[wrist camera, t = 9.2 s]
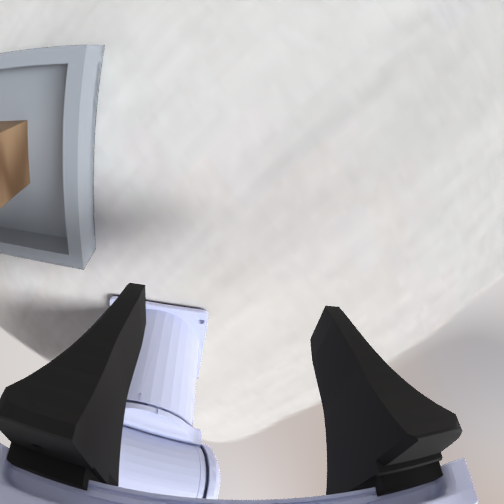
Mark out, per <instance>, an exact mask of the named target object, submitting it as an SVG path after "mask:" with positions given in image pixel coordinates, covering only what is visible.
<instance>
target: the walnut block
mask: <svg viewBox="0 0 504 504" xmlns="http://www.w3.org/2000/svg"><path fill="white" fill-rule="evenodd" d="M29 184H30V173H29V157H28V120H16V121H0V209H1V208H2V207H3V206H4V205H5V204H6V203H7V202H8V201H10V200H11V199H12V198H13V197H14V196H15V195H17V194H18V193H19V192H20V191H21V190H23V189H24V188H25V187H26V186H27V185H29Z"/></svg>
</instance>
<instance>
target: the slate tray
mask: <svg viewBox="0 0 504 504" xmlns="http://www.w3.org/2000/svg"><path fill="white" fill-rule="evenodd" d="M104 46H105V45H71V46H55V47H44V48H34V49H26V50H18V51H11V52H5V53H0V121H16V120H28V157H29V173H30V184H29V185H27V186H26V187H25V188H24V189H23V190H21V191H20V192H19V193H18V194H17V195H15V196H14V197H13V198H12V199H11V200H10V201H8V202H7V203H6V204H5V205H4V206H3V207H2V208H1V209H0V253H3V254H7V255H12V256H17V257H21V258H26V259H31V260H36V261H41V262H46V263H51V264H56V265H61V266H67V267H72V268H77V269H83V270H84V268H85V266H86V265H87V263H88V261H89V259H90V258H91V256H92V254H93V253H94V251H95V249H96V248H95V230H94V195H93V177H94V142H95V125H96V111H97V100H98V90H99V82H100V73H101V66H102V59H103V52H104Z"/></svg>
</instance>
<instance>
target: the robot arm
mask: <svg viewBox="0 0 504 504" xmlns="http://www.w3.org/2000/svg"><path fill="white" fill-rule="evenodd" d="M109 304H110V307H109V308H108V309H107V310H106V312H105V313H104V314H103V315H102V316H101V317H100V318H99V319H98V320H97V322H96V323H95V324H94V325H93V326H92V327H91V328H90V329H89V330H88V331H87V332H86V333H85V334H84V335H83V336H82V337H80V338H79V339H78V340H77V341H76V342H75V343H74V344H73V345H71V346H70V347H69V348H68V349H67V350H65V351H64V352H63V353H62V354H60V355H59V356H58V357H56V358H55V359H54V360H52V361H51V362H50V363H48V364H47V365H45V366H43V367H42V368H40V369H39V370H37V371H36V372H34V373H33V374H31V375H29V376H28V377H26V378H24V379H22V380H20V381H18V382H16V383H14V384H12V385H10V386H8V387H6V389H5V390H4V392H3V394H2V396H1V398H0V431H1V432H2V433H3V434H4V435H5V436H6V437H7V438H8V439H9V440H10V441H11V445H10V448H8V447H6V446H4V445H3V444H1V443H0V504H477V503H478V502H479V501H478V498H477V494H476V491H475V488H474V484H473V482H472V478H471V475H470V472H469V469H468V466H467V464H466V461H465V458H461V459H458V460H455V461H452V462H449V463H447V464H444V465H442V466H440V463H439V461H440V460H442V455H441V451H443V450H444V449H445V448H447V447H448V446H449V445H451V444H452V443H453V442H454V441H456V440H457V439H458V438H459V437H460V435H461V433H462V429H461V427H460V424H459V422H458V419H457V417H456V414H454V413H452V412H450V411H449V410H447V409H445V408H443V407H441V406H440V405H438V404H436V403H435V402H433V401H432V400H430V399H428V398H427V397H425V396H424V395H423V394H421V393H420V392H418V391H417V390H416V389H414V388H413V387H412V386H411V385H409V384H408V383H407V382H406V381H405V380H404V379H402V378H401V377H400V376H399V375H398V374H397V373H396V372H395V371H394V370H393V369H391V367H389V366H388V364H387V363H386V362H385V361H384V360H383V359H382V358H381V357H380V356H379V355H378V354H377V353H376V352H375V350H374V349H373V348H372V347H371V346H370V345H369V343H368V342H367V341H366V340H365V339H364V337H363V336H362V335H361V334H360V332H359V331H358V330H357V329H356V327H355V326H354V325H353V324H352V322H351V321H350V320H349V319H348V317H347V316H346V315H345V314H344V312H343V311H342V310H341V309H340V308H339V307H333V306H325V308H324V310H323V313H322V315H321V317H320V319H319V321H318V324H317V326H316V328H315V330H314V332H313V335H312V337H311V339H310V340H311V352H312V361H313V366H314V370H315V374H316V379H317V383H318V387H319V392H320V396H321V400H322V405H323V410H324V418H325V427H326V442H327V491H326V495H323V496H315V497H305V498H293V499H274V500H220V499H217V498H218V494H219V490H220V468H219V463H218V460H217V458H216V457H215V454H214V452H213V450H212V449H211V448H210V447H209V446H208V445H206V444H204V443H201V438H202V431H201V430H200V429H196V428H194V427H193V422H194V405H195V390H196V379H198V376H199V370H200V364H201V358H202V352H203V346H204V340H205V334H206V328H207V323H208V312H207V311H205V310H201V309H194V308H187V307H180V306H173V305H167V304H160V303H154V302H148V301H145V285H141V284H134V283H129V284H128V285H127V286H126V287H125V289H124V290H123V291H122V293H121V294H120V295H119V296H112V297H111V298H110V301H109ZM200 319H202V321H201V320H200Z"/></svg>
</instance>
